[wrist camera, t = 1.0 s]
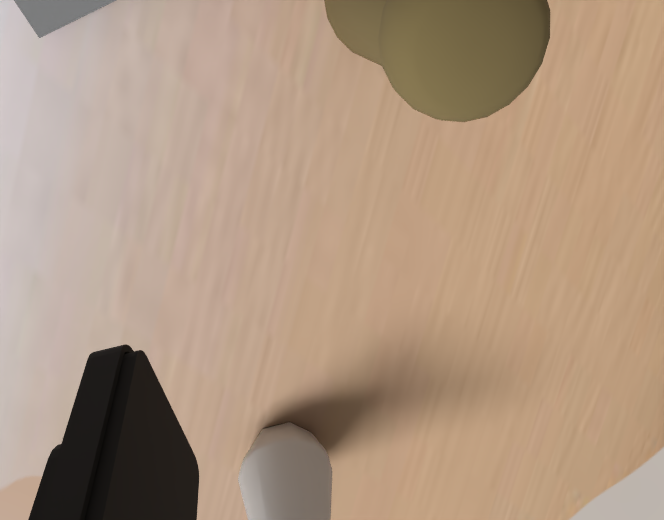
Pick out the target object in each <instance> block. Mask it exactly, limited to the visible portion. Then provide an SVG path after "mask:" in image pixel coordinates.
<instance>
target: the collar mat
mask: <svg viewBox="0 0 664 520" xmlns="http://www.w3.org/2000/svg"><path fill="white" fill-rule="evenodd" d="M14 1H15V2H16V4H17V5H18V7H19V8H20V10H21V11H22V13H23V14H24V16H25V17H26V19H27V20H28V22H29V23H30V25H31V26H32V28H33V29H34V31H35V32H36V34H37V35H38V37H39V38H41V37H43V36H45V35H47V34H49V33H51V32H53V31H55V30H57V29H59V28H61V27H63V26H65V25H67V24H69V23H71V22H73V21H75V20H77V19H79V18H81V17H83V16H85V15H87V14H89V13H91V12H93V11H95V10H97V9H99V8H102V7H104V6H106V5H108V4H110V3H112V2H114V1H116V0H14Z"/></svg>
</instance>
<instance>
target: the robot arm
mask: <svg viewBox="0 0 664 520" xmlns="http://www.w3.org/2000/svg"><path fill="white" fill-rule="evenodd" d="M198 487H199V470H198V464H197V460H196V457H195V455H194V453H193V451H192V449H191V447H190V445H189V443H188V440H187V438H186V436H185V434H184V432H183V430H182V428H181V426H180V424H179V422H178V420H177V418H176V416H175V414H174V412H173V410H172V408H171V406H170V403H169V401H168V399H167V397H166V395H165V393H164V391H163V389H162V387H161V385H160V383H159V381H158V379H157V377H156V375H155V373H154V371H153V369H152V366H151V364H150V362H149V360H148V358H147V356H146V355H145V353H144V352H143V351H141V350H139V351H135V352H134V351H133V350H132V348H131V347H130V346H129V345H121V346H117V347H113V348H109V349H105V350H101V351H96V352H93V353H91V354H90V355H89V358H88V360H87V363H86V366H85V370H84V373H83V376H82V379H81V383H80V386H79V389H78V392H77V396H76V399H75V402H74V405H73V408H72V412H71V415H70V418H69V421H68V425H67V428H66V431H65V434H64V438H63V441H62V444H60V445H57V446H56V447H55V448H54V449H53V450H52V452H51V454H50V456H49V458H48V461H47V464H46V467H45V470H44V473H43V476H42V479H41V482H40V486H39V489H38V492H37V495H36V498H35V501H34V504H33V507H32V510H31V513H30V517H29V520H196V519H197V503H198Z"/></svg>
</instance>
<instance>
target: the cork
mask: <svg viewBox="0 0 664 520" xmlns="http://www.w3.org/2000/svg"><path fill="white" fill-rule="evenodd" d="M324 1H325V7H326V12H327V18H328V20H329V22H330V24H331V26H332V28H333V30H334V32H335V34H336V36H337V38H339V39H340V40H341V41H342V42H343V43H344V44H345V45H346V46H347V47H348V48H349V49H350V50H351V51H352V52H353V53H355V54H358V55H360V56H362V57H364V58H366V59H368V60H370V61H372V62H375V63H377V64H379V65H381V66H383V69H384V71H385V73H386V75H387V77H388V79H389V81H390V83H391V85H392V87H393V88H394V90H395V91H396V92H397V93H398V94H399V95H400V96H401V97H402V98H403V99H404V100H405V101H406V102H407V103H408V104H409V105H410V106H411V107H412V108H413V109H415V110H417V111H419V112H421V113H423V114H426V115H428V116H430V117H432V118H435V119H439V120H445V121H457V122H467V121H471V120H475V119H480V118H484V117H488V116H490V115H491V114H493V113H495V112H497V111H498V110H500V109H502V108H504V107H506V106H507V105H509V104H510V103H511V102H512V101H513V100H514V99H515V98H516V97H517V96H518V95H519V94H521V93H522V92H523V91H524V90H525V89H526V88H527V87H528V85H529V84H530V82H531V81H532V79H533V77H534V76H535V74H536V72H537V71H538V69H539V67H540V66H541V64H542V62H543V58H544V55H545V52H546V48H547V45H548V42H549V38H550V8H549V5H548V2H547V0H324Z"/></svg>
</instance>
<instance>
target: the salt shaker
mask: <svg viewBox="0 0 664 520" xmlns="http://www.w3.org/2000/svg"><path fill="white" fill-rule="evenodd" d="M238 481H239V485H240V489H241V493H242V497H243V501H244V505H245V509H246V513H247V517H248V520H330V517H331V491H332V467H331V464H330V460H329V456H328V454H327V451H326V450H325V449H324V447H323V446H322V445H321V444H320V442H319V441H318V440H317V439H316V438H315V436H314V435H313V434H312V433H311V432H309V431H307V430H305V429H303V428H301V427H299V426H297V425H295V424H293V423H290V422H288V423H284V424H280V425H276V426H273V427H269V428H265V429H262V430H261V432H260V433H259V435H258V437H257V438H256V440H255V442H254V443H253V445H252V446H251V448H250V449H249V451H248V453H247V454H246V456H245V457H244V459H243V462H242V465H241V469H240V472H239V478H238Z"/></svg>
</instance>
